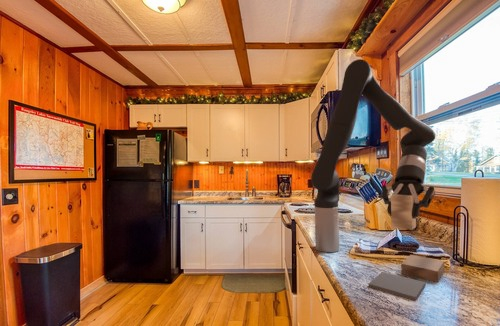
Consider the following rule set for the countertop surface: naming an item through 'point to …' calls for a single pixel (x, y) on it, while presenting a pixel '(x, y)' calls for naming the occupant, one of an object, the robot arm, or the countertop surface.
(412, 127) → the robot arm
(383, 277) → the slate mat
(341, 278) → the countertop surface
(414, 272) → the walnut ledge
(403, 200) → the maple block
